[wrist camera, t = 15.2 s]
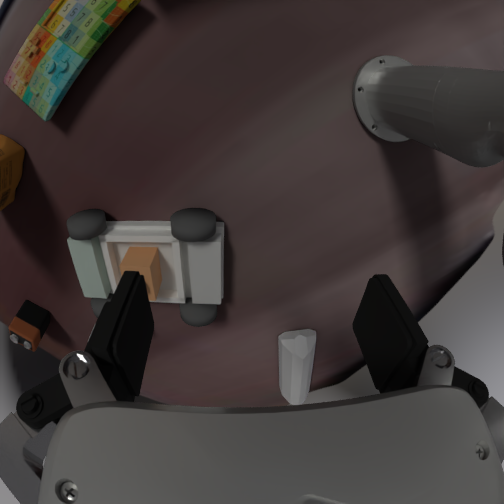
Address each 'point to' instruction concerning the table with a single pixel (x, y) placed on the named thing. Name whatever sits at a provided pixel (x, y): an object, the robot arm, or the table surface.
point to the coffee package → (9, 169)
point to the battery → (29, 325)
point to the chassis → (170, 256)
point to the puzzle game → (62, 50)
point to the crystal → (296, 364)
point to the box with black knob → (144, 267)
